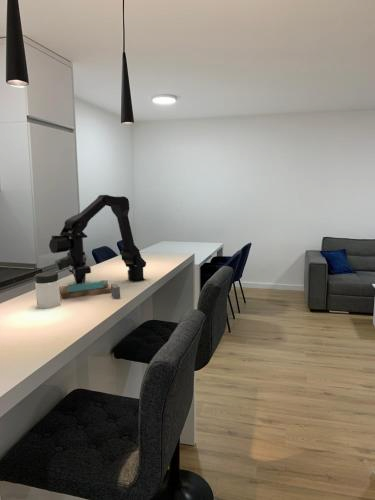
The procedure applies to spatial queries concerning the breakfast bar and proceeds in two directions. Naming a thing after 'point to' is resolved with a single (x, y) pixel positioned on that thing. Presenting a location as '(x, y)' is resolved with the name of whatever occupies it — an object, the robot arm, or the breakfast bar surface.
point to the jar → (47, 290)
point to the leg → (87, 286)
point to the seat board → (82, 292)
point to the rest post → (115, 291)
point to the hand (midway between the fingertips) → (78, 287)
